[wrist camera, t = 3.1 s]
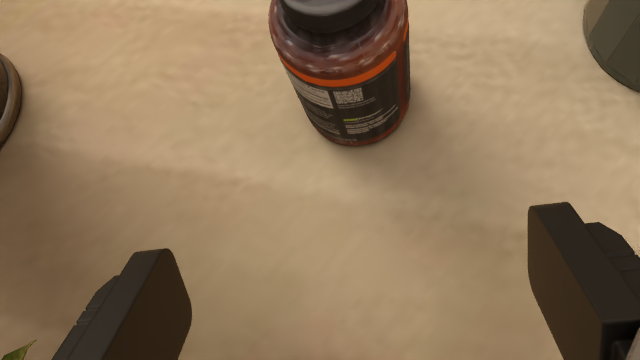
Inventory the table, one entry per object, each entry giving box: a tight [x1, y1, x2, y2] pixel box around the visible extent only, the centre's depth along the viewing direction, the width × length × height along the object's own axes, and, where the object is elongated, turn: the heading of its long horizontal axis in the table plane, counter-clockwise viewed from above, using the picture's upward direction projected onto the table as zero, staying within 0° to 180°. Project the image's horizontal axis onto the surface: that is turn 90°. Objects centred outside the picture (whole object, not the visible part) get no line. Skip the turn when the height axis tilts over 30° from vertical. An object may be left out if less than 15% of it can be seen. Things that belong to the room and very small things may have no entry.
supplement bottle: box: [269, 0, 410, 145], centre depth 25 cm, size 6×6×11 cm
